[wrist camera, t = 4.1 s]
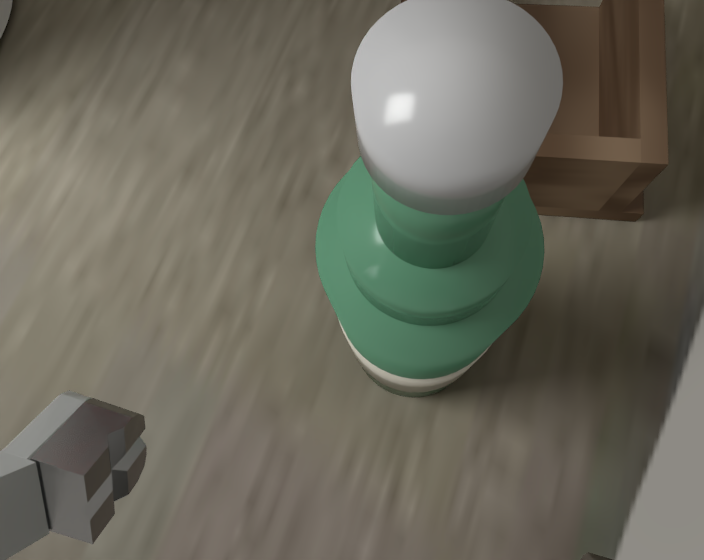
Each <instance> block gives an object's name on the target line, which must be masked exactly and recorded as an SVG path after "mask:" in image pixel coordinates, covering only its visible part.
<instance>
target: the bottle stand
mask: <svg viewBox="0 0 704 560" xmlns="http://www.w3.org/2000/svg"><path fill="white" fill-rule="evenodd" d="M405 1H407V0H401V3H403V2H405ZM515 5H517V6H519V7H520V8H522V9H523V10H525V11H526V12H527V13H528V14H530V15H531V16H532V17H533V18H534V19H535V20H536V21H537V22H538V23H539V24H540V25H541V26H542V27H543V28H544V30H545V31H546V32H547V34H548V35H549V36H550V38H551V40H552V42H553V44H554V46H555V47H556V50H557V53H558V55H559V58H560V62H561V67H562V74H563V89H562V97H561V101H560V105H559V108H558V111H557V113H556V116H555V118H554V120H553V122H552V124H551V126H550V128H549V130H548V132H547V134H546V136H545V138H544V140H543V142H542V144H541V146H540V148H539V150H538V152H537V154H536V156H535V158H534V161H533V163H532V165H531V167H530V168H529V170H528V172H527V173H526V175H525V177H524V178H523V179H524V181H525V183H526V186H527V189H528V192H529V195H530V198H531V200H532V202H533V204H534V206H535V208H536V210H537V213H538V215H551V216H565V217H579V218H593V219H607V220H621V221H636V220H638V219H639V218H640V217H641V216H642V215H643V214H644V199H643V190H644V189H645V188H646V187H647V186H648V185H649V184H650V183H651V182H652V181H653V180H654V179H655V178H656V177H657V176H658V175H659V174H660V173H661V172H662V171H663V169H664V168H665V167H666V166H667V165H668V164H669V162H668V125H667V88H666V51H665V15H664V0H602V2H601V5H600V7H586V6H560V5H534V4H515Z"/></svg>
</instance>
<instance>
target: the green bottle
mask: <svg viewBox="0 0 704 560" xmlns="http://www.w3.org/2000/svg"><path fill="white" fill-rule="evenodd" d="M562 89H563V74H562V67H561V62H560V58H559V55H558V53H557V50H556V47H555V46H554V44H553V42H552V40H551V38H550V36H549V35H548V34H547V32H546V31H545V30H544V28H543V27H542V26H541V25H540V24H539V23H538V22H537V21H536V20H535V19H534V18H533V17H532V16H531V15H530V14H528V13H527V12H526V11H525V10H523V9H522V8H520V7H519V6H517V5H515V4H514V3H512V2H510V1H508V0H407V1H405V2H403V3H401V4H399V5H397V6H396V7H394V8H393V9H391V10H390V11H388V12H387V13H386V14H385V15H383V16H382V17H381V18H380V19H379V20H378V21H377V22H376V23H375V24H374V25H373V26H372V27H371V28H370V30H369V31H368V33H367V34H366V35H365V37H364V38H363V40H362V42H361V44H360V46H359V48H358V50H357V53H356V56H355V59H354V62H353V67H352V72H351V90H352V99H353V107H354V115H355V123H356V130H357V138H358V146H359V150H360V154H361V156H360V157H359V158H358V159H357V161H356V162H355V163H354V164H353V166H352V167H351V169H350V170H349V172H347V173H346V174H345V176H344V177H343V178H342V179H341V180H340V181H339V182H338V183H337V185H336V186H335V188H334V189H333V191H332V192H331V194H330V195H329V197H328V199H327V201H326V203H325V205H324V207H323V210H322V213H321V216H320V219H319V223H318V228H317V233H316V247H315V250H316V262H317V267H318V271H319V276H320V279H321V281H322V284H323V287H324V290H325V292H326V294H327V296H328V298H329V300H330V302H331V304H332V306H333V308H334V310H335V312H336V315H337V317H338V319H339V322H340V325H341V328H342V331H343V333H344V335H345V337H346V339H347V341H348V343H349V345H350V347H351V349H352V351H353V353H354V355H355V356H356V358H357V360H358V362H359V363H360V364H361V366H362V368H363V370H364V371H365V372H366V374H367V375H368V376H369V377H370V378H371V379H372V381H374V382H375V383H376V384H377V385H378V386H380V387H381V388H383V389H385V390H387V391H389V392H391V393H393V394H397V395H400V396H406V397H422V396H427V395H431V394H434V393H436V392H439V391H441V390H443V389H444V388H446V387H447V386H449V385H450V384H451V383H452V382H454V381H455V380H456V379H458V378H459V377H460V376H461V375H462V374H464V373H465V372H466V371H467V370H468V369H469V368H470V367H471V366H472V365H473V364H474V363H475V362H476V361H477V360H478V359H479V358H480V357H481V356H482V355H483V354H484V353H485V352H486V351H487V350H488V348H489V347H490V346H491V344H492V343H493V342H494V341H495V340H496V339H497V338H498V337H499V336H500V335H501V334H502V333H503V332H504V331H505V330H506V329H507V328H509V327H510V326H511V325H512V324H513V323H514V322H515V321H516V320H517V319H518V317H519V316H520V315H521V313H522V312H523V311H524V310H525V308H526V307H527V305H528V304H529V302H530V300H531V298H532V297H533V295H534V293H535V290H536V288H537V285H538V283H539V280H540V276H541V272H542V268H543V260H544V237H543V232H542V226H541V222H540V219H539V216H538V213H537V210H536V208H535V206H534V204H533V202H532V200H531V198H530V195H529V192H528V189H527V186H526V183H525V181H524V179H523V178H524V177H525V175H526V173H527V172H528V170H529V168H530V167H531V165H532V163H533V161H534V158H535V156H536V154H537V152H538V150H539V148H540V146H541V144H542V142H543V140H544V138H545V136H546V134H547V132H548V130H549V128H550V126H551V124H552V122H553V120H554V118H555V116H556V113H557V111H558V108H559V105H560V101H561V97H562Z"/></svg>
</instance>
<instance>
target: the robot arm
mask: <svg viewBox="0 0 704 560" xmlns="http://www.w3.org/2000/svg"><path fill="white" fill-rule="evenodd" d="M12 2H13V0H0V38H1V36H2V34H3V32H4V30H5V27H6V25H7V22H8V19H9V16H10V12H11V8H12ZM144 430H145V420H144V416H143V415H141V414H138V413H136V412H133V411H130V410H127V409H124V408H121V407H118V406H115V405H112V404H109V403H106V402H103V401H100V400H98V399H95V398H91V397H88V396H85V395H82V394H79V393H76V392H73V391H70V390H69V391H66V392H64V393H62V394H60V395H59V396H58V397H57V398H55V399H54V400H53V401H52V402H51V403H50V404H49V405H48V406H47V407H46V408H45V409H44V410H43V411H42V412H41V413H40V414H39V415H38V416H37V417H36V418H35V419H34V420H33V421H32V422H31V423H30V424H29V425H28V426H27V427H26V428H25V429H23V430H22V431H21V432H20V433H19V434H18V435H17V436H16V437H15V438H14V439H13V440H12V441H11V442H10V443H9V444H8V445H7V446H6V447H5V448H4V449H3V450H0V560H6V559H8V558H9V557H11V556H13V555H14V554H16V553H18V552H19V551H21V550H23V549H24V548H26V547H28V546H29V545H31V544H33V543H34V542H36V541H38V540H39V539H41V538H43V537H44V536H46V535H48V534H49V531H52V532H55V533H59V534H62V535H65V536H68V537H71V538H75V539H78V540H81V541H84V542H87V543H90V544H93V543H94V542H95V540H96V539H97V538H98V536H99V535H100V533H101V532H102V531H103V529H104V528H105V527H106V525H107V524H108V522H109V521H110V520H111V518H112V517H113V516H114V514H115V510H114V501H116V500H118V499H120V498H122V497H124V496H126V495H128V494H129V493H130V492H131V490H132V489H133V487H134V486H135V484H136V483H137V482H138V479H139V477H140V475H141V473H142V470H143V468H144V465H145V460H146V445H145V443H144V442H143V440H142V439H141V438H140V435H141V434H142V432H143V431H144ZM581 560H613V559H609V558H606V557H603V556H599V555H596V554H593V553H589V552H588V553H586V554H584V555H583V556H582V558H581Z"/></svg>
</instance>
